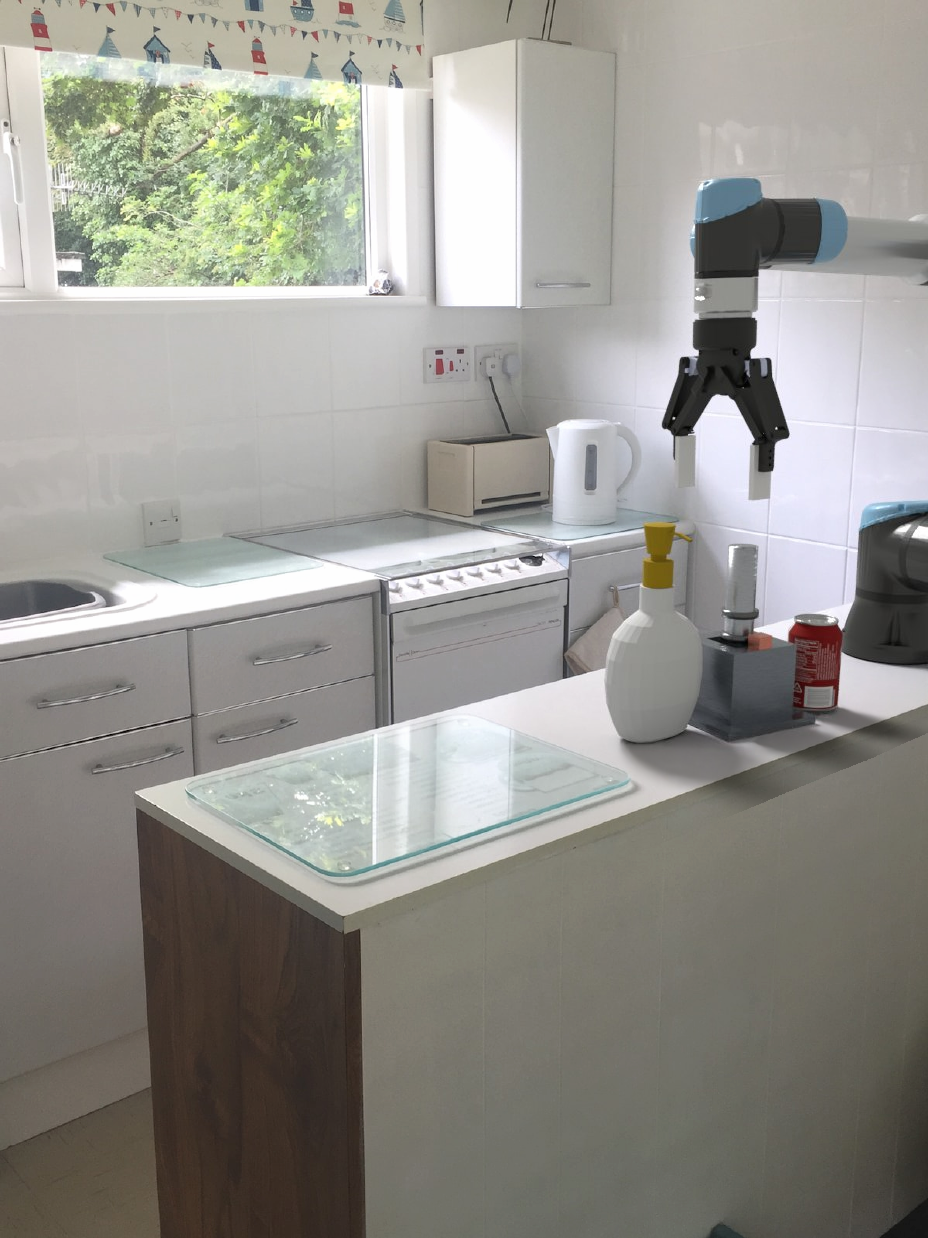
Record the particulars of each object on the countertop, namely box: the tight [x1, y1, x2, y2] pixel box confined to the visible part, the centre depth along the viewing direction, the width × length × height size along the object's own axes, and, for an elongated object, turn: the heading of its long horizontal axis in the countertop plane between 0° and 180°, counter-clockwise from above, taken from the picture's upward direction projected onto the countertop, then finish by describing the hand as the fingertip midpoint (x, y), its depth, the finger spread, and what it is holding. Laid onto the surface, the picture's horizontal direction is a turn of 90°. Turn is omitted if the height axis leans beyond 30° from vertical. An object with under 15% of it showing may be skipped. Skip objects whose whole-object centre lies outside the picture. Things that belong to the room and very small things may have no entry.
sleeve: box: [688, 630, 817, 742], centre depth 152 cm, size 14×14×12 cm
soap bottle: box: [604, 521, 703, 744], centre depth 143 cm, size 14×9×26 cm, turn 127°
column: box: [719, 543, 760, 648], centre depth 151 cm, size 5×5×21 cm
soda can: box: [786, 613, 843, 715], centre depth 156 cm, size 7×7×12 cm
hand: (720, 493), depth 149 cm, fingers open, 13 cm apart
